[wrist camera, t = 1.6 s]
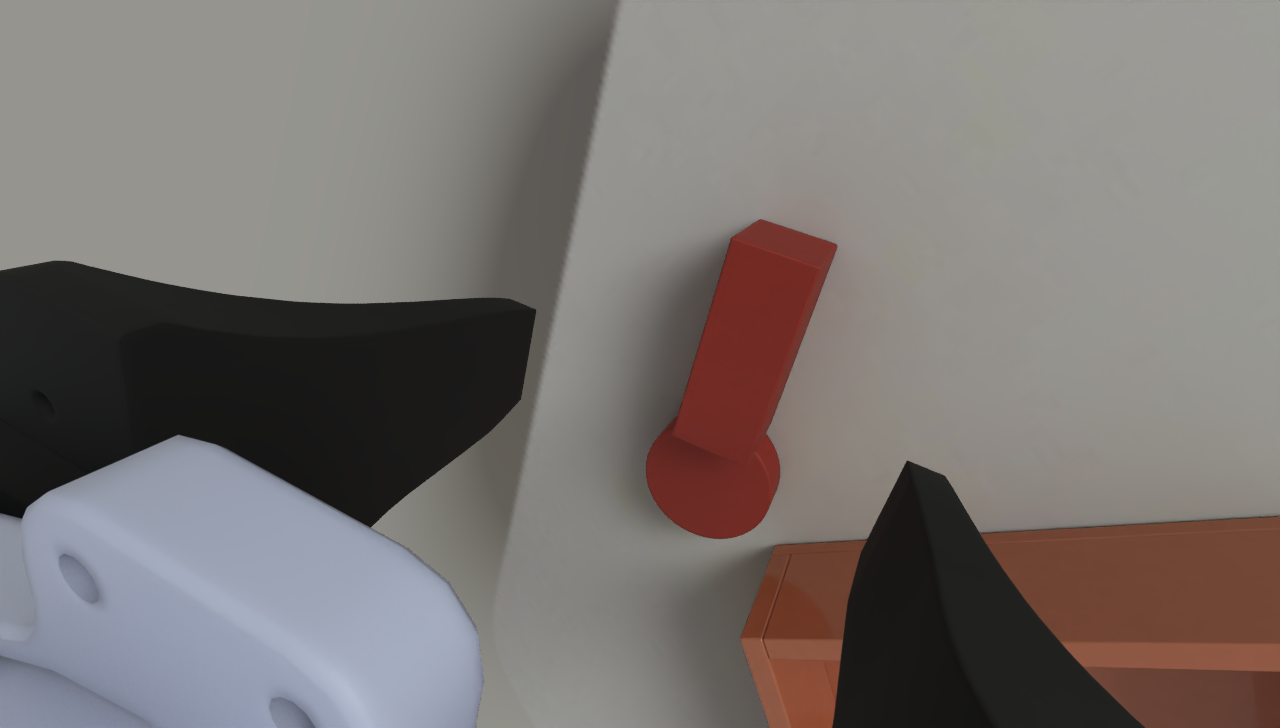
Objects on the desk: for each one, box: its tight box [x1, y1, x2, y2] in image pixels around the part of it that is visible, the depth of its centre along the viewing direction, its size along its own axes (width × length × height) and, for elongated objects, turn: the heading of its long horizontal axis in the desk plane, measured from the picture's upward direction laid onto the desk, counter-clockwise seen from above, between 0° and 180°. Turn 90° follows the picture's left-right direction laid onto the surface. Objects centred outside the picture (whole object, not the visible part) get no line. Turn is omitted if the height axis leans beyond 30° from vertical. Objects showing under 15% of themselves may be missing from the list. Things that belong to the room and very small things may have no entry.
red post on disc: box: [646, 219, 837, 539], centre depth 17 cm, size 9×4×3 cm, turn 166°
